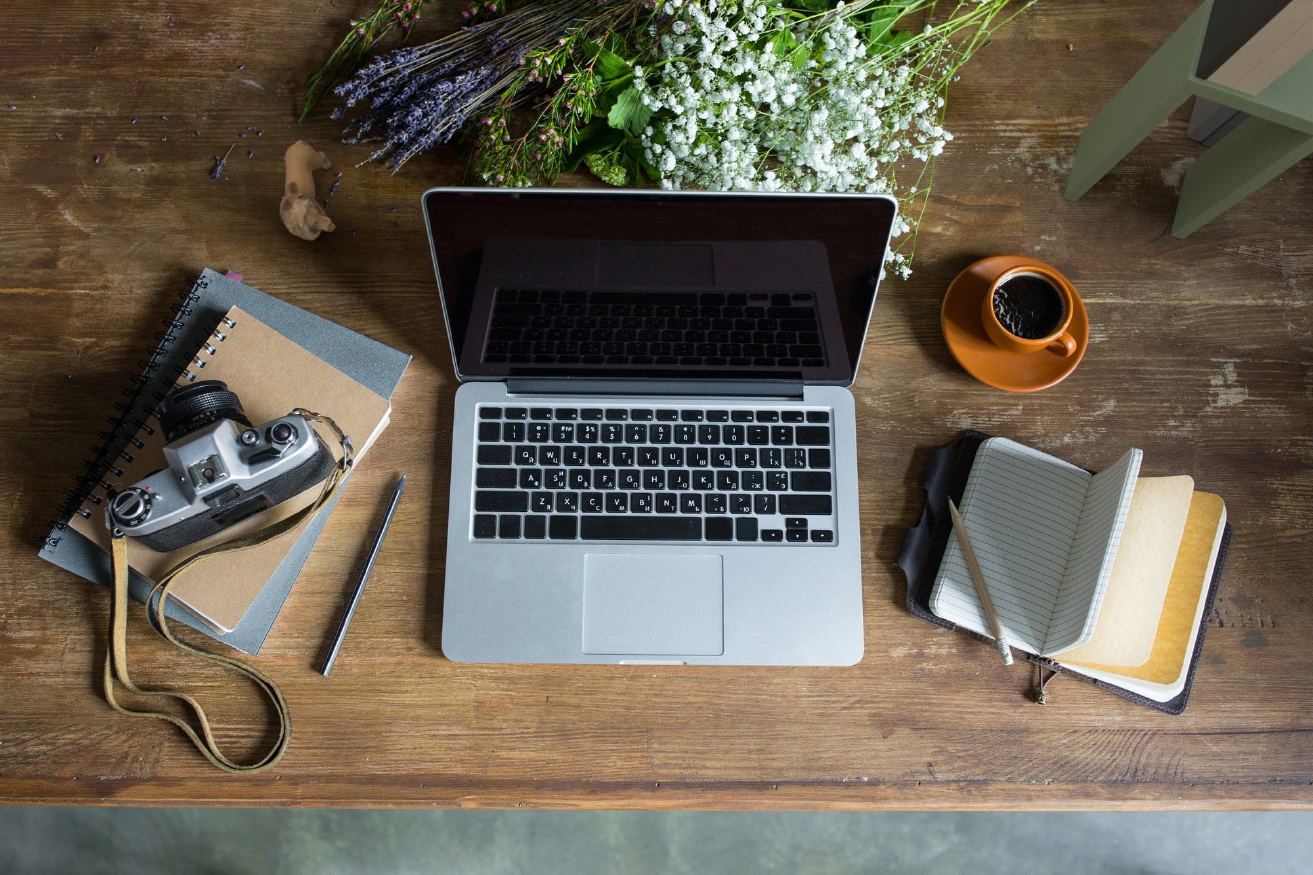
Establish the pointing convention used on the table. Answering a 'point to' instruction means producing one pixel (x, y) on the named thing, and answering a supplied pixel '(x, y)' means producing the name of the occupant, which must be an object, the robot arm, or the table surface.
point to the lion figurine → (303, 192)
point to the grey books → (1213, 121)
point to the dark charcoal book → (1254, 42)
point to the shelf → (1263, 146)
